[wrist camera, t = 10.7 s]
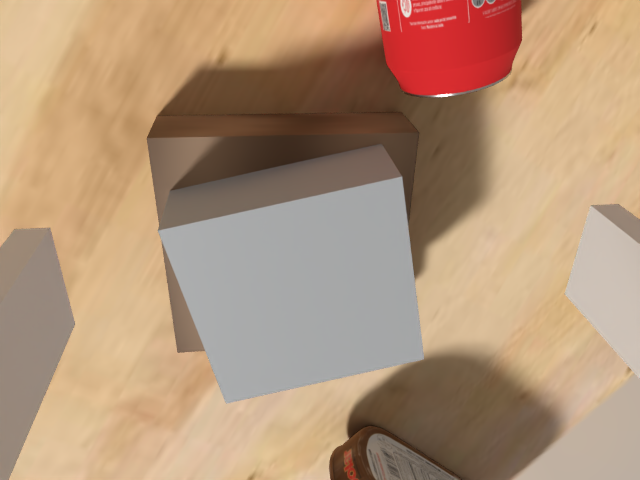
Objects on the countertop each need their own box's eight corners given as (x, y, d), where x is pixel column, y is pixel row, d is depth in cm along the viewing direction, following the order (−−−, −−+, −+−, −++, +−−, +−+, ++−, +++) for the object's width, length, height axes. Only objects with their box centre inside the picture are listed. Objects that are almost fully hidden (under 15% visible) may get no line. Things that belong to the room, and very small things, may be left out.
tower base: (184, 309, 30) (177, 352, 27) (158, 112, 24) (146, 138, 21) (380, 298, 31) (395, 338, 28) (398, 108, 26) (419, 132, 23)
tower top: (228, 350, 27) (226, 403, 24) (170, 190, 23) (157, 230, 19) (404, 311, 27) (424, 359, 24) (381, 143, 23) (401, 176, 20)
